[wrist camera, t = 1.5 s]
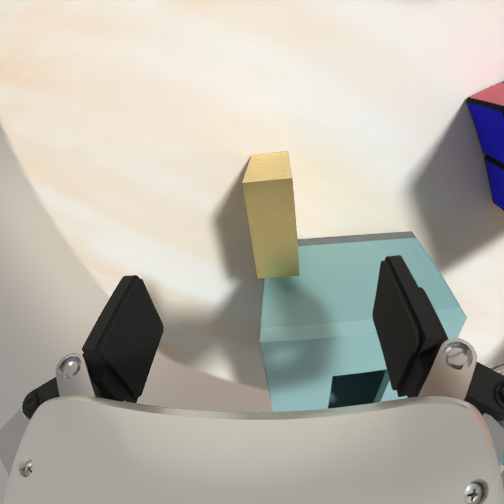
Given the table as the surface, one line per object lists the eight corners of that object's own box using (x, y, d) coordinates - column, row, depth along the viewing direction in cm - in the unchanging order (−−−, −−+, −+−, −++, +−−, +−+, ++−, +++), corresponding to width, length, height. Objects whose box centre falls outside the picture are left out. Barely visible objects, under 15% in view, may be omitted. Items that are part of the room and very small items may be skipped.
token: (294, 227, 22) (299, 275, 17) (262, 230, 23) (257, 278, 18) (288, 150, 19) (292, 178, 14) (251, 154, 19) (241, 182, 14)
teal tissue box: (384, 353, 30) (401, 429, 21) (281, 363, 31) (279, 443, 23) (411, 231, 21) (466, 317, 13) (267, 241, 23) (259, 341, 15)
